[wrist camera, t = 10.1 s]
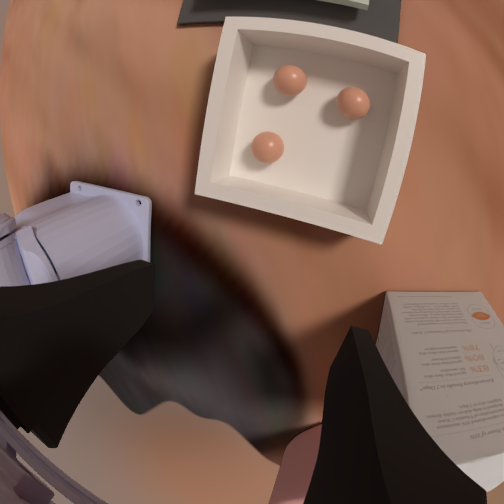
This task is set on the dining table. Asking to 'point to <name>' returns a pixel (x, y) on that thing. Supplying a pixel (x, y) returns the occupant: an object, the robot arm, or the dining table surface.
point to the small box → (450, 373)
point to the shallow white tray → (310, 123)
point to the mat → (301, 14)
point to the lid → (351, 3)
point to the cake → (297, 468)
